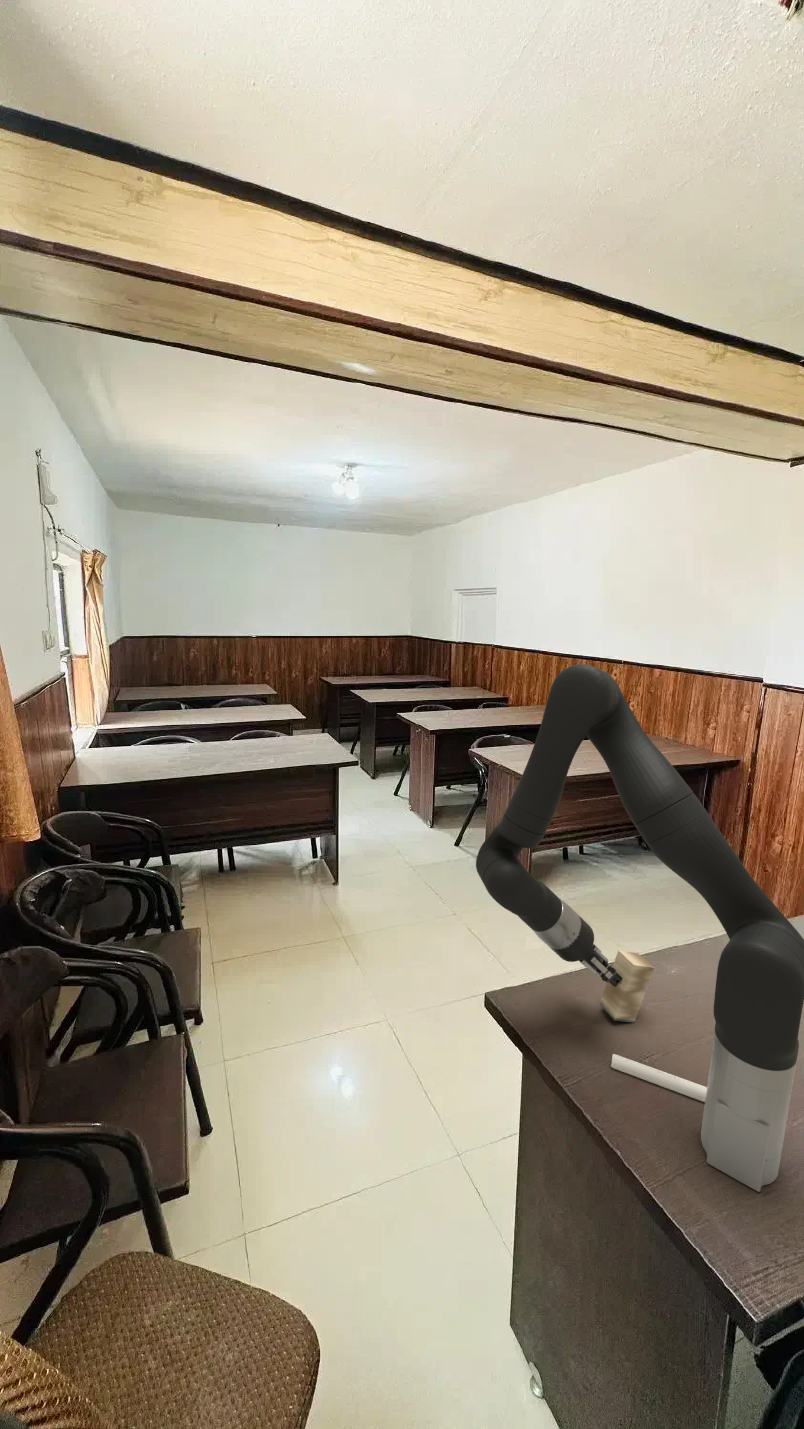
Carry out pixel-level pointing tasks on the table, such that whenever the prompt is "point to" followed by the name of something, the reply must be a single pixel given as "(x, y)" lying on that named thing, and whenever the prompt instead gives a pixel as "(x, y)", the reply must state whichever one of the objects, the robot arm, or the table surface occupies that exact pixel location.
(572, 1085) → the table surface
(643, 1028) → the table surface
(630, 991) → the beech block
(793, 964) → the robot arm
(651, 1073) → the marker
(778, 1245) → the table surface
